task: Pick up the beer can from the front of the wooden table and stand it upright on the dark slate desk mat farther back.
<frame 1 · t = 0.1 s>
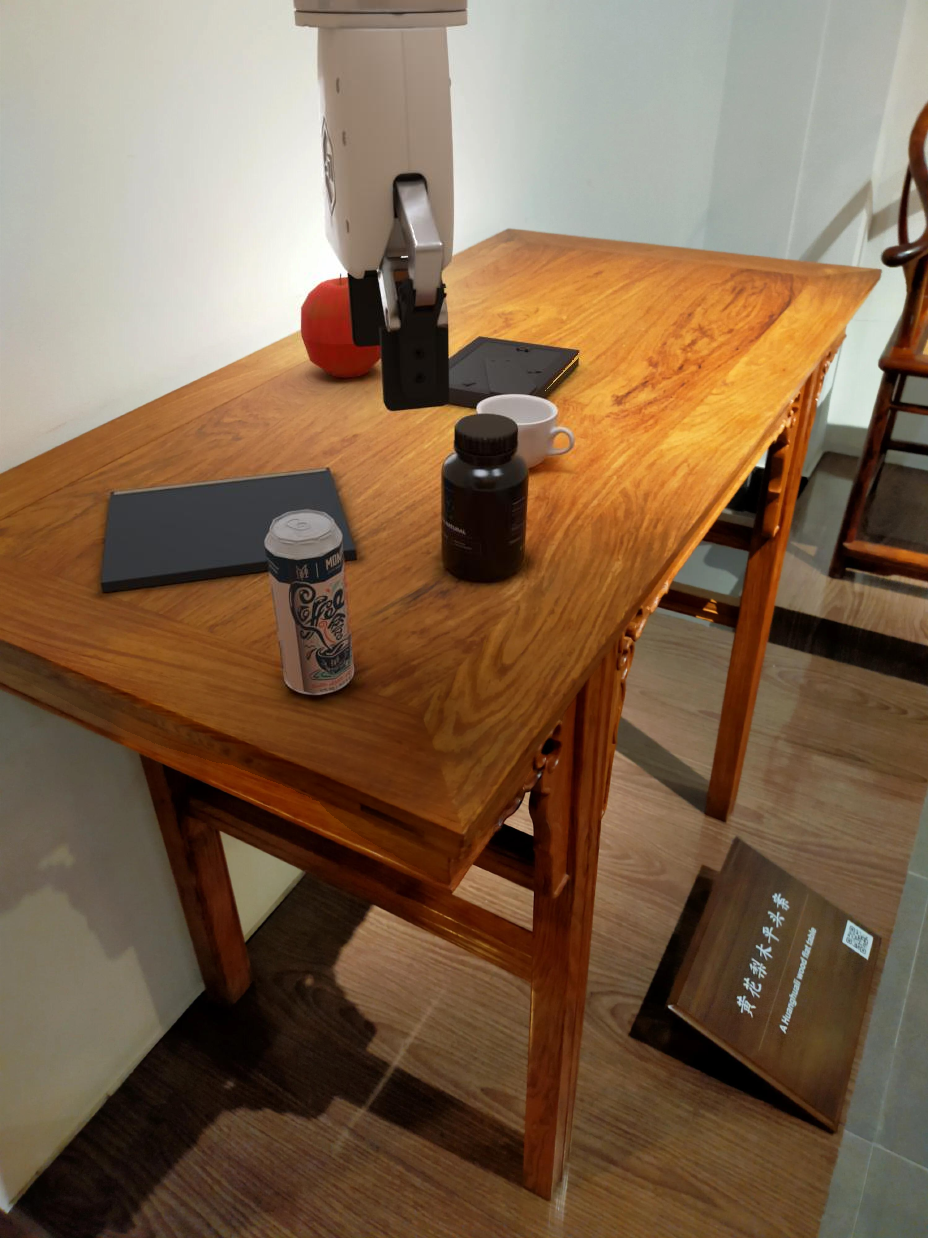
hand: (397, 372, 50), 22 cm above the table, tool pointing down, fingers open, 9 cm apart
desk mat: (228, 528, 82), on the table
teacup: (525, 464, 92), on the table
supplement bottle: (483, 563, 77), on the table
picture frame: (500, 382, 111), on the table
apple: (347, 372, 114), on the table
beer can: (320, 680, 64), on the table
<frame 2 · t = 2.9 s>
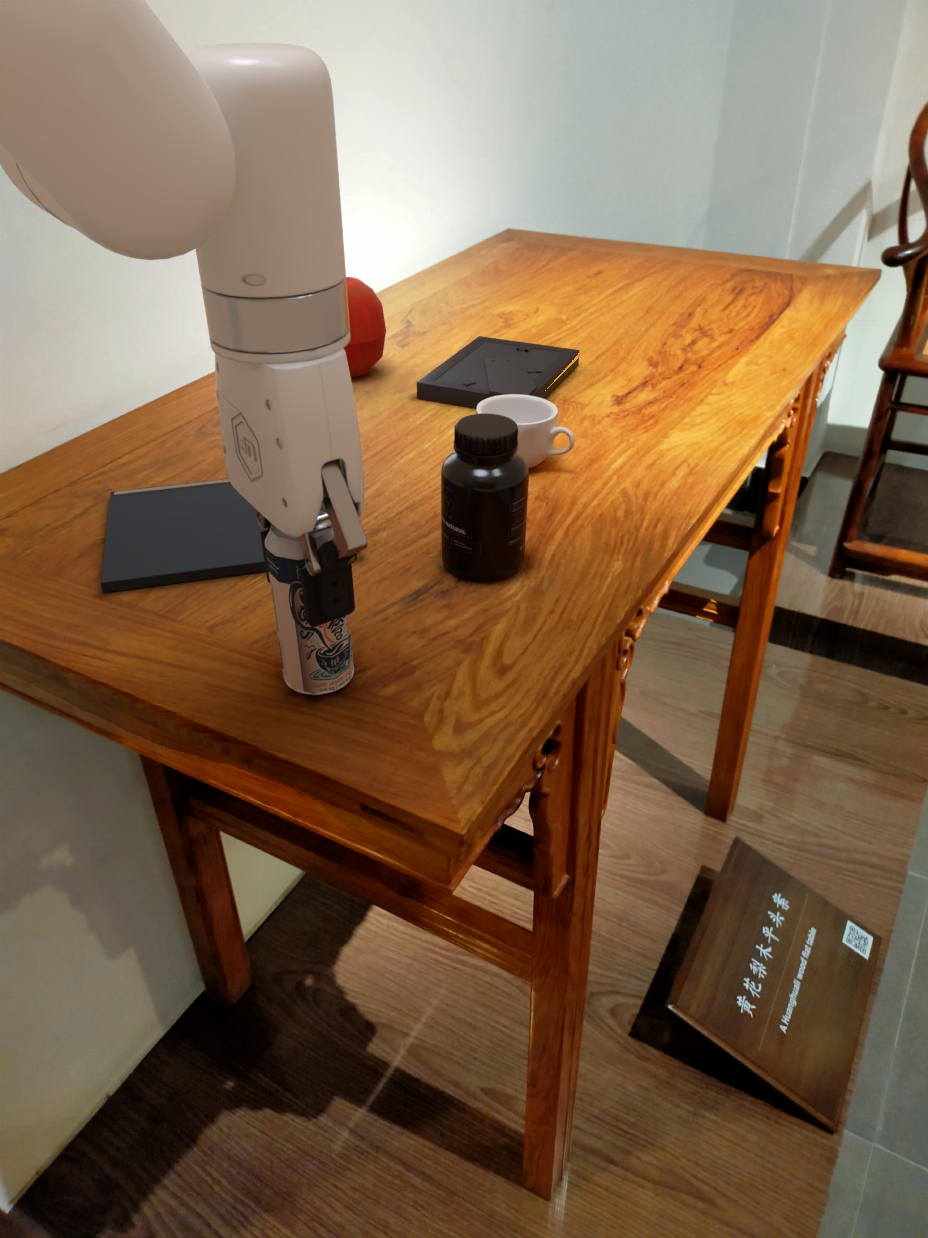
hand: (310, 595, 60), 7 cm above the table, tool pointing down, fingers closed on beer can, 4 cm apart
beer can: (320, 680, 64), on the table, touching gripper
everything else where it was.
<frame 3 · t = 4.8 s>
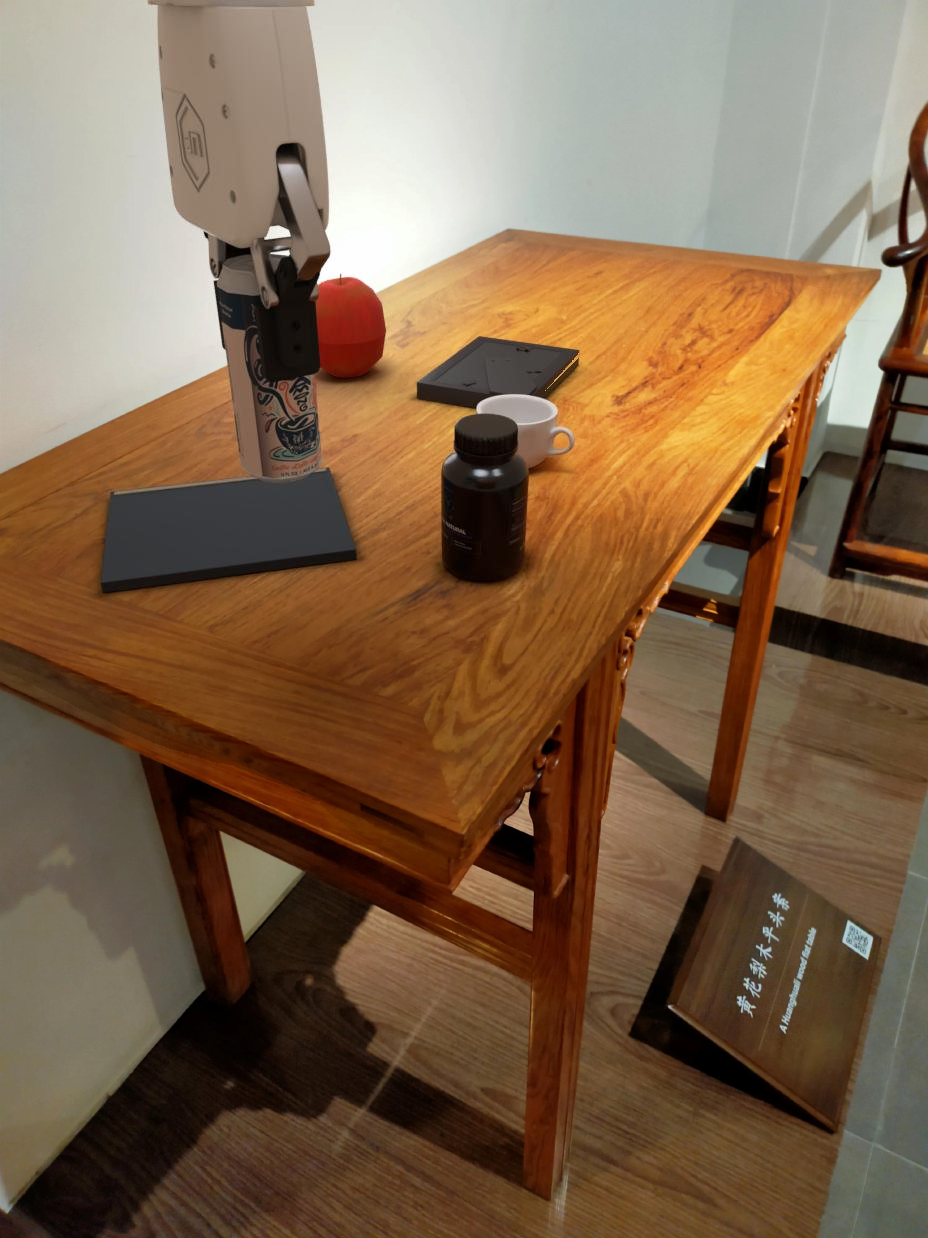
hand: (270, 358, 53), 22 cm above the table, tool pointing down, fingers closed on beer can, 4 cm apart
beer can: (282, 472, 57), point 15 cm above the table, touching gripper
everything else where it was.
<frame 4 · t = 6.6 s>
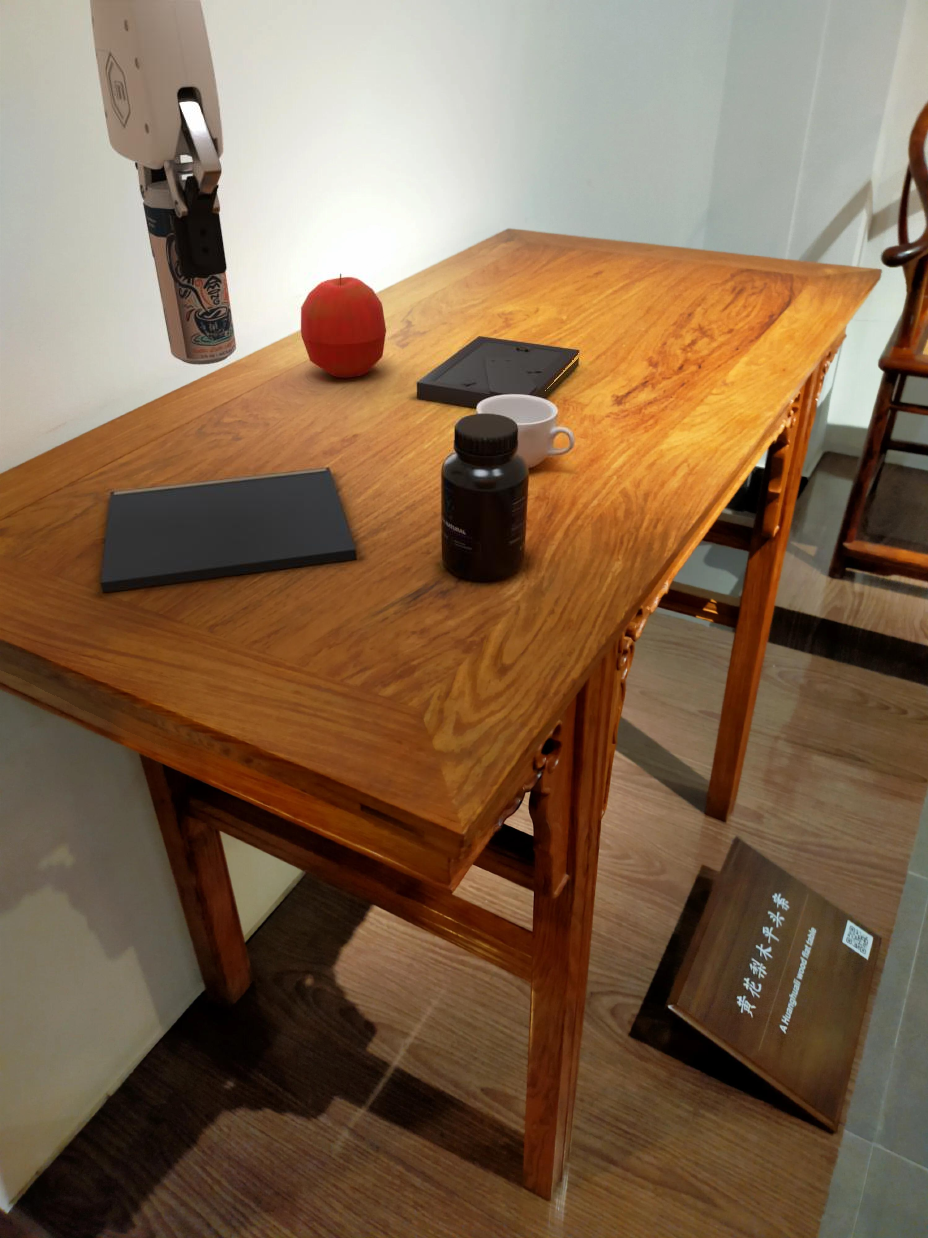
hand: (189, 263, 67), 23 cm above the table, tool pointing down, fingers closed on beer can, 4 cm apart
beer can: (205, 358, 71), point 16 cm above the table, touching gripper
everything else where it was.
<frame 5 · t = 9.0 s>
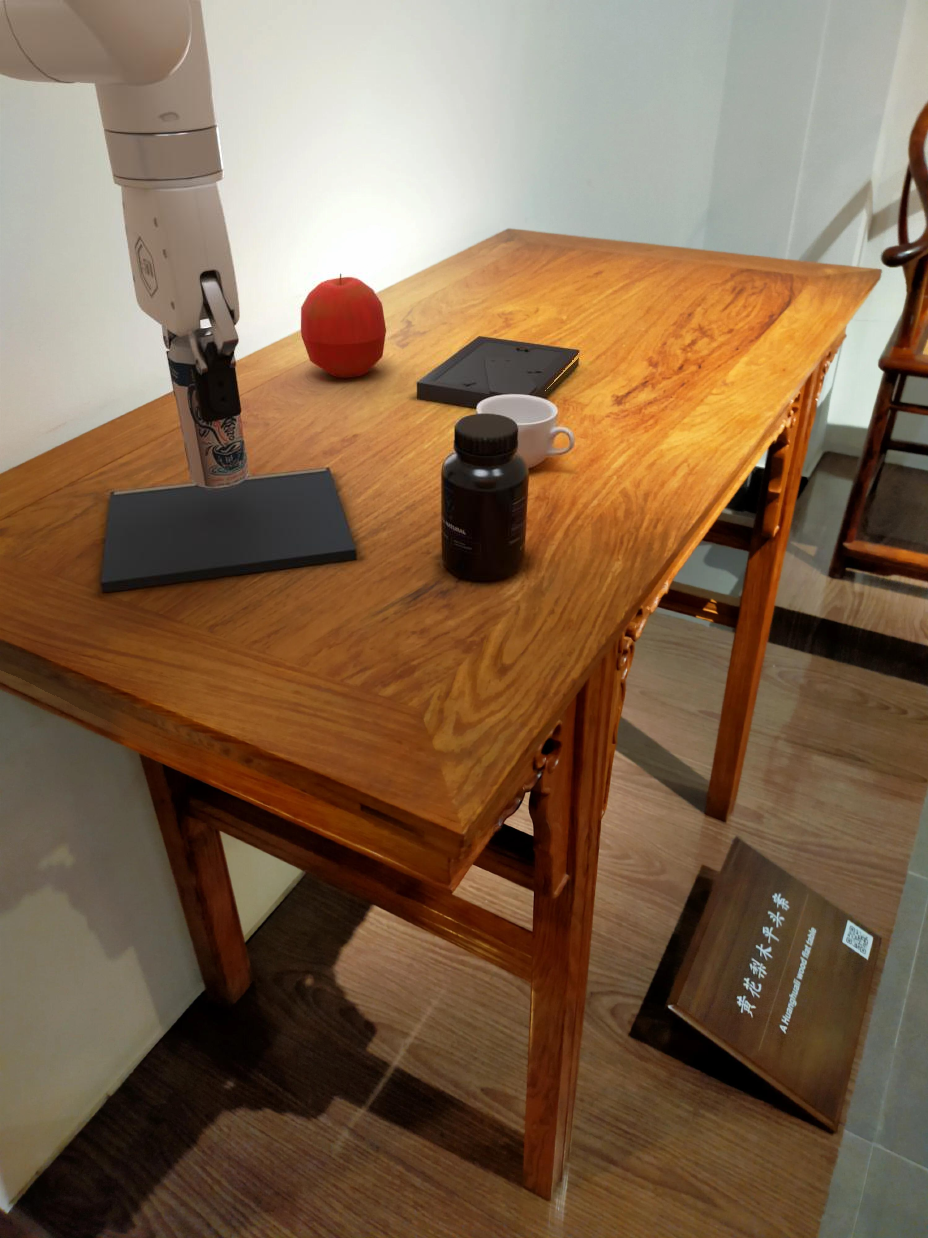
hand: (207, 404, 75), 11 cm above the table, tool pointing down, fingers closed on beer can, 4 cm apart
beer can: (221, 482, 79), point 4 cm above the table, touching gripper
everything else where it was.
when the fingers open (8 cm above the table, at t = 10.4 s): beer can stays where it is, resting on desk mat.
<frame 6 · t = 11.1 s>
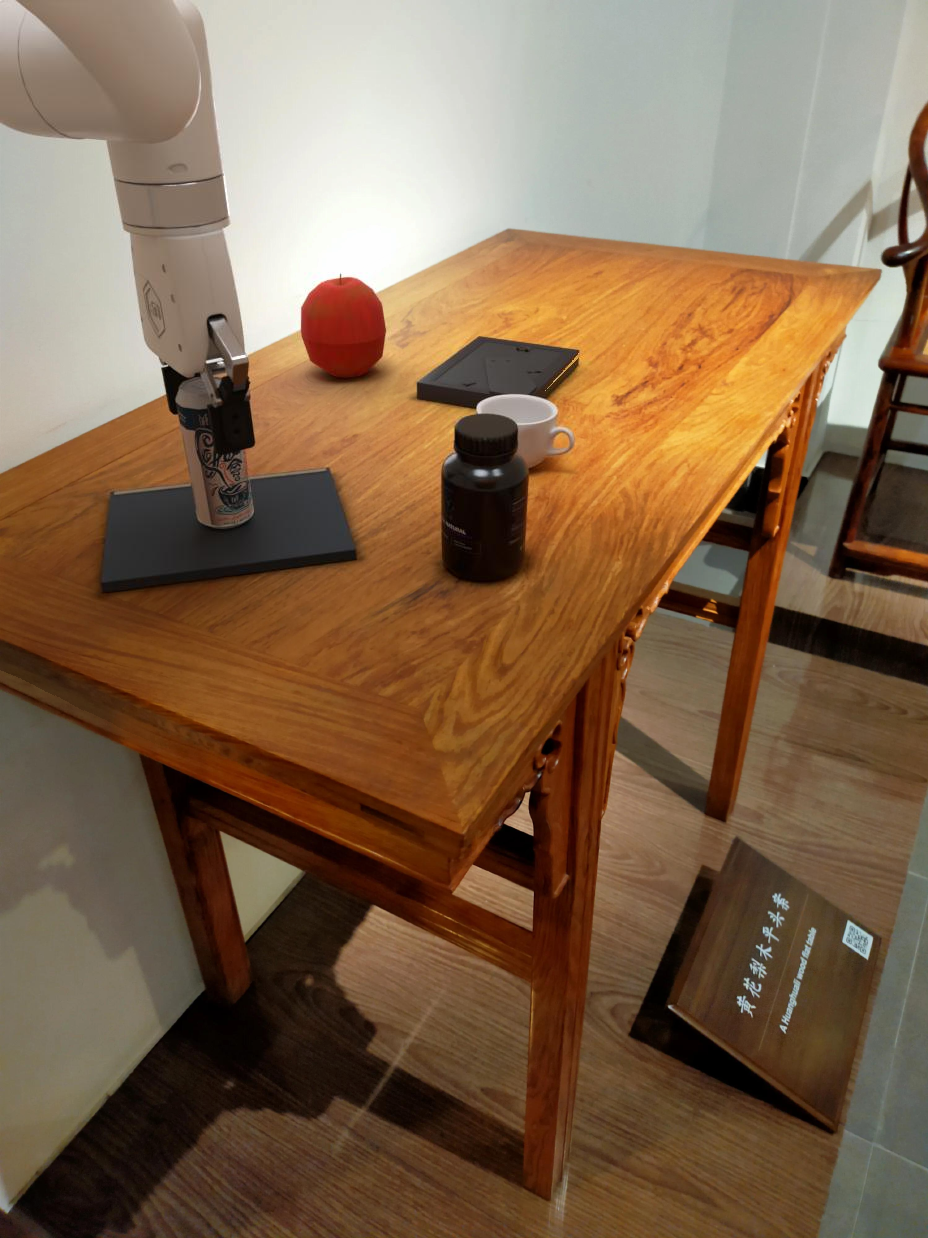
hand: (211, 429, 76), 9 cm above the table, tool pointing down, fingers open, 9 cm apart
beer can: (226, 520, 81), point 1 cm above the table, touching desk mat
everything else where it was.
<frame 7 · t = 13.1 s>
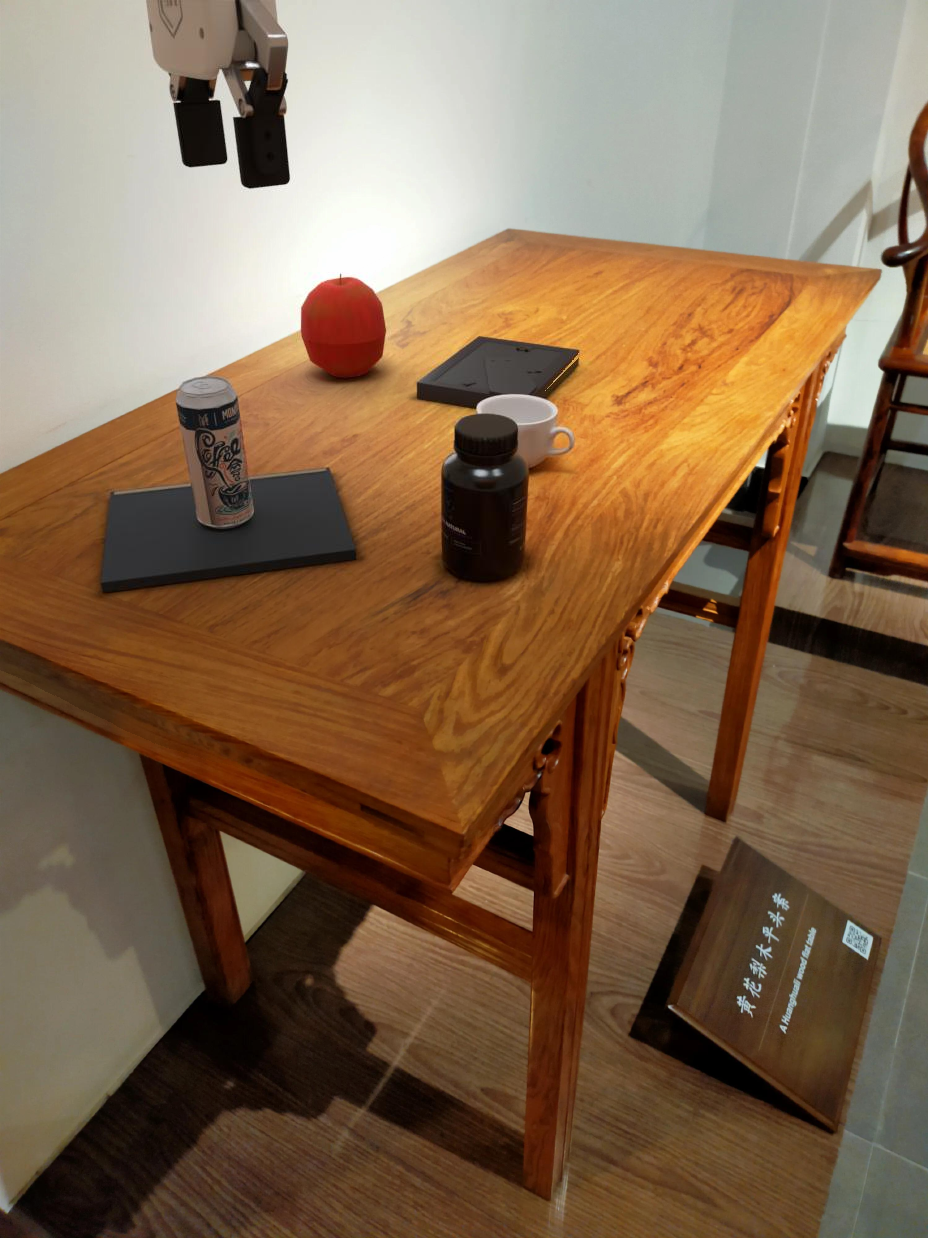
hand: (234, 174, 63), 29 cm above the table, tool pointing down, fingers open, 9 cm apart
nothing on the table moved.
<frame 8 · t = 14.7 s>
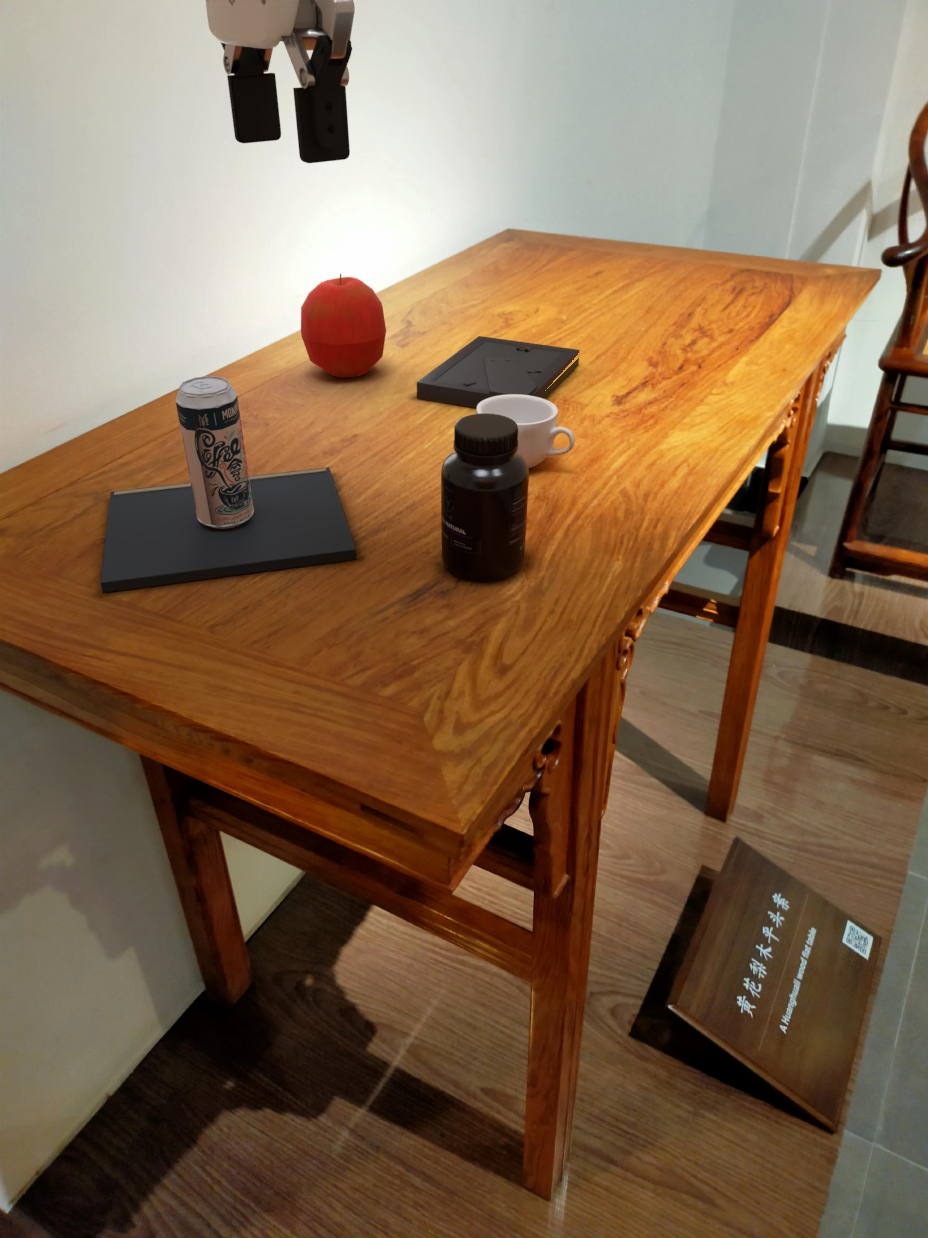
hand: (290, 149, 61), 30 cm above the table, tool pointing down, fingers open, 9 cm apart
nothing on the table moved.
at the end: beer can inside the target area on the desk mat (0.0 cm from its centre), point 0.8 cm above the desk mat's base; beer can tilted 0°; the gripper is holding nothing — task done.
